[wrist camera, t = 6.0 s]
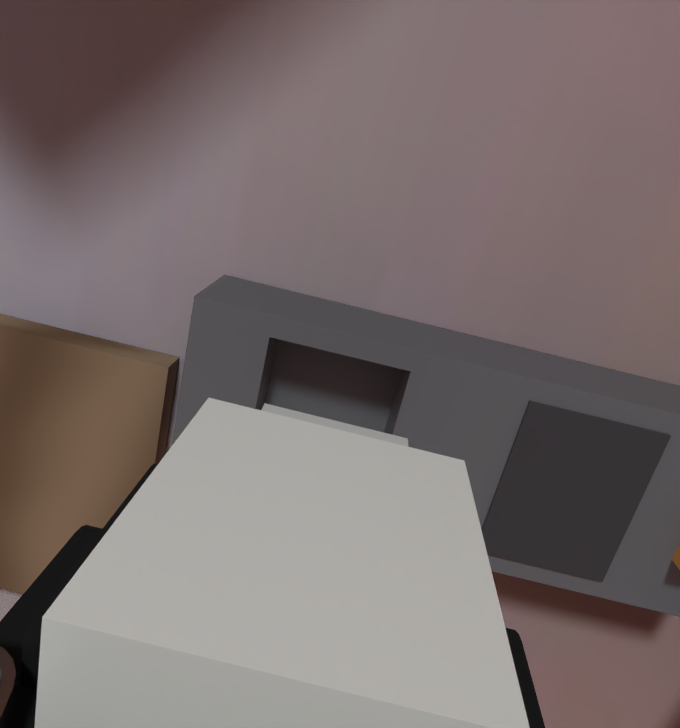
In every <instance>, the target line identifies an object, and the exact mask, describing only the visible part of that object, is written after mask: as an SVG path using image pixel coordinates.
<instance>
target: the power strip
mask: <svg viewBox="0 0 680 728" xmlns="http://www.w3.org/2000/svg"><path fill="white" fill-rule="evenodd" d="M208 398H213V399H217V400H221V401H225V402H229V403H233V404H237V405H241V406H245V407H249V408H253V409H257V410H262V408H263V406H264V404H265V403H266V404H270V405H274V406H278V407H282V408H286V409H290V410H294V411H298V412H302V413H306V414H310V415H314V416H319V417H323V418H327V419H331V420H335V421H339V422H343V423H347V424H351V425H355V426H359V427H363V428H367V429H371V430H375V431H379V432H383V433H388V434H392V435H396V436H400V437H404V438H408V447H411V448H416V449H420V450H424V451H428V452H432V453H436V454H440V455H444V456H448V457H452V458H456V459H460V460H464V461H465V465H466V469H467V473H468V477H469V481H470V485H471V489H472V493H473V497H474V501H475V506H476V510H477V514H478V518H479V522H480V526H481V530H482V534H483V538H484V542H485V547H486V551H487V555H488V559H489V563H490V567H491V571H492V572H496V573H500V574H505V575H509V576H513V577H517V578H521V579H525V580H530V581H534V582H538V583H542V584H546V585H550V586H554V587H559V588H563V589H567V590H571V591H575V592H579V593H583V594H588V595H592V596H596V597H600V598H604V599H608V600H613V601H617V602H621V603H625V604H629V605H633V606H637V607H642V608H646V609H650V610H654V611H658V612H662V613H666V614H671V615H675V616H679V617H680V386H677V385H673V384H669V383H665V382H660V381H656V380H652V379H648V378H644V377H640V376H636V375H632V374H628V373H624V372H620V371H615V370H611V369H607V368H603V367H599V366H595V365H591V364H587V363H583V362H579V361H575V360H570V359H566V358H562V357H558V356H554V355H550V354H546V353H542V352H538V351H534V350H530V349H525V348H521V347H517V346H513V345H509V344H505V343H501V342H497V341H493V340H489V339H485V338H480V337H476V336H472V335H468V334H464V333H460V332H456V331H452V330H448V329H444V328H440V327H435V326H431V325H427V324H423V323H419V322H415V321H411V320H407V319H403V318H399V317H395V316H390V315H386V314H382V313H378V312H374V311H370V310H366V309H362V308H358V307H354V306H350V305H345V304H341V303H337V302H333V301H329V300H325V299H321V298H317V297H313V296H309V295H305V294H300V293H296V292H292V291H288V290H284V289H280V288H276V287H272V286H268V285H264V284H260V283H255V282H251V281H247V280H243V279H239V278H235V277H231V276H227V275H224V276H222V277H221V278H219V279H218V280H216V281H215V282H214V283H212V284H211V285H209V286H208V287H207V288H205V289H204V290H202V291H201V292H200V293H198V294H197V295H195V297H194V303H193V310H192V317H191V323H190V330H189V336H188V343H187V350H186V356H185V363H184V369H183V376H182V383H181V389H180V396H179V403H178V409H177V416H176V422H175V429H174V436H173V442H172V445H173V444H174V443H175V441H176V440H177V439H178V437H179V436H180V435H181V433H182V432H183V431H184V429H185V428H186V427H187V425H188V424H189V423H190V422H191V420H192V419H193V418H194V416H195V415H196V414H197V412H198V411H199V410H200V408H201V407H202V406H203V404H204V403H205V402H206V400H207V399H208Z"/></svg>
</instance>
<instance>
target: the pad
mask: <svg viewBox="0 0 680 728" xmlns="http://www.w3.org/2000/svg"><path fill="white" fill-rule="evenodd" d="M178 362H179V357H175V356H171V355H167V354H163V353H159V352H155V351H151V350H146V349H142V348H138V347H134V346H130V345H126V344H122V343H118V342H113V341H109V340H105V339H101V338H97V337H93V336H89V335H85V334H81V333H76V332H72V331H68V330H64V329H60V328H56V327H52V326H48V325H44V324H39V323H35V322H31V321H27V320H23V319H19V318H15V317H11V316H7V315H2V314H0V588H1V589H6V590H10V591H14V592H18V593H22V594H24V593H25V592H26V590H27V589H28V588H29V587H30V586H31V584H32V583H33V582H34V581H35V580H36V579H37V577H38V576H39V575H40V574H41V573H42V571H43V570H44V569H45V568H46V567H47V565H48V564H49V563H50V562H51V561H52V559H53V558H54V557H55V556H56V555H57V554H58V552H59V551H60V550H61V549H62V548H63V546H64V545H65V544H66V543H67V542H68V540H69V539H70V538H71V537H72V536H73V534H74V533H75V532H76V531H77V530H78V529H79V528H80V527H81V526H84V525H90V526H94V527H98V528H102V529H103V527H104V526H105V525H106V523H107V522H108V521H109V520H110V518H111V517H112V516H113V514H114V513H115V512H116V511H117V509H118V508H119V507H120V505H121V504H122V503H123V501H124V500H125V499H126V498H127V496H128V495H129V494H130V492H131V491H132V490H133V489H134V487H135V486H136V485H137V483H138V482H139V481H140V480H141V478H142V477H143V476H144V474H145V473H146V472H147V471H148V469H149V468H150V467H151V466H152V465H153V464H154V463H156V464H159V462H160V461H161V460H162V458H163V457H164V456H165V450H166V444H167V437H168V430H169V423H170V416H171V410H172V403H173V396H174V389H175V383H176V376H177V369H178Z"/></svg>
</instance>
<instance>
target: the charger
mask: <svg viewBox="0 0 680 728" xmlns="http://www.w3.org/2000/svg"><path fill="white" fill-rule="evenodd" d="M34 728H530V727H529V723H528V719H527V715H526V711H525V707H524V702H523V698H522V694H521V690H520V686H519V682H518V678H517V674H516V670H515V666H514V661H513V657H512V653H511V649H510V645H509V641H508V637H507V633H506V629H505V625H504V620H503V616H502V612H501V608H500V604H499V600H498V596H497V592H496V588H495V584H494V579H493V575H492V571H491V567H490V563H489V559H488V555H487V551H486V547H485V542H484V538H483V534H482V530H481V526H480V522H479V518H478V514H477V510H476V506H475V501H474V497H473V493H472V489H471V485H470V481H469V477H468V473H467V469H466V465H465V461H464V460H460V459H456V458H452V457H448V456H444V455H440V454H436V453H432V452H428V451H424V450H420V449H416V448H411V447H408V438H404V437H400V436H396V435H392V434H388V433H383V432H379V431H375V430H371V429H367V428H363V427H359V426H355V425H351V424H347V423H343V422H339V421H335V420H331V419H327V418H323V417H319V416H314V415H310V414H306V413H302V412H298V411H294V410H290V409H286V408H282V407H278V406H274V405H270V404H266V403H265V404H264V406H263V408H262V410H257V409H253V408H249V407H245V406H241V405H237V404H233V403H229V402H225V401H221V400H217V399H213V398H208V399H207V400H206V402H205V403H204V404H203V406H202V407H201V408H200V410H199V411H198V412H197V414H196V415H195V416H194V418H193V419H192V420H191V422H190V423H189V424H188V425H187V427H186V428H185V429H184V431H183V432H182V433H181V435H180V436H179V437H178V439H177V440H176V441H175V443H174V444H173V445H172V447H171V448H170V449H169V451H168V452H167V453H166V455H165V456H164V457H163V458H162V460H161V461H160V462H159V464H158V465H157V466H156V468H155V469H154V470H153V472H152V473H151V474H150V476H149V477H148V478H147V480H146V481H145V482H144V484H143V485H142V486H141V487H140V489H139V490H138V491H137V493H136V494H135V495H134V497H133V498H132V499H131V501H130V502H129V503H128V505H127V506H126V507H125V509H124V510H123V511H122V513H121V514H120V515H119V517H118V518H117V519H116V520H115V522H114V523H113V524H112V526H111V527H110V528H109V530H108V531H107V532H106V534H105V535H104V536H103V538H102V539H101V540H100V542H99V543H98V544H97V546H96V547H95V548H94V549H93V551H92V552H91V553H90V555H89V556H88V557H87V559H86V560H85V561H84V563H83V564H82V565H81V567H80V568H79V569H78V571H77V572H76V573H75V575H74V576H73V577H72V579H71V580H70V581H69V582H68V584H67V585H66V586H65V588H64V589H63V590H62V592H61V593H60V594H59V596H58V597H57V598H56V600H55V601H54V602H53V604H52V605H51V606H50V608H49V609H48V610H47V612H46V613H45V614H44V615H43V617H42V626H41V641H40V655H39V669H38V684H37V698H36V712H35V726H34Z"/></svg>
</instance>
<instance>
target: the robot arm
mask: <svg viewBox="0 0 680 728" xmlns="http://www.w3.org/2000/svg"><path fill="white" fill-rule="evenodd" d="M157 465H158V464H156V463H154V464H153V465H152V466H151V467H150V468H149V469H148V471H147V472H146V473H145V474H144V476H143V477H142V478H141V480H140V481H139V482H138V483H137V485H136V486H135V487H134V489H133V490H132V491H131V492H130V494H129V495H128V496H127V498H126V499H125V500H124V501H123V503H122V504H121V505H120V507H119V508H118V509H117V511H116V512H115V513H114V514H113V516H112V517H111V518H110V520H109V521H108V522H107V523H106V525H105V526H104V527H103V529H102V528H98V527H94V526H90V525H84V526H81V527H80V528H79V529H78V530H77V531H76V532H75V533H74V534H73V536H72V537H71V538H70V539H69V540H68V542H67V543H66V544H65V545H64V546H63V548H62V549H61V550H60V551H59V552H58V554H57V555H56V556H55V557H54V558H53V559H52V561H51V562H50V563H49V564H48V565H47V567H46V568H45V569H44V570H43V571H42V573H41V574H40V575H39V576H38V577H37V579H36V580H35V581H34V582H33V583H32V584H31V586H30V587H29V588H28V589H27V590H26V592H25V593H24V594H23V595H22V596H21V598H20V599H19V600H18V601H17V602H16V603H15V605H14V606H13V607H12V608H11V609H10V611H9V612H8V613H7V614H6V615H5V617H4V618H3V619H2V620H1V621H0V728H34V726H35V712H36V698H37V684H38V669H39V655H40V641H41V626H42V617H43V615H44V614H45V613H46V612H47V610H48V609H49V608H50V606H51V605H52V604H53V602H54V601H55V600H56V598H57V597H58V596H59V594H60V593H61V592H62V590H63V589H64V588H65V586H66V585H67V584H68V582H69V581H70V580H71V579H72V577H73V576H74V575H75V573H76V572H77V571H78V569H79V568H80V567H81V565H82V564H83V563H84V561H85V560H86V559H87V557H88V556H89V555H90V553H91V552H92V551H93V549H94V548H95V547H96V546H97V544H98V543H99V542H100V540H101V539H102V538H103V536H104V535H105V534H106V532H107V531H108V530H109V528H110V527H111V526H112V524H113V523H114V522H115V520H116V519H117V518H118V517H119V515H120V514H121V513H122V511H123V510H124V509H125V507H126V506H127V505H128V503H129V502H130V501H131V499H132V498H133V497H134V495H135V494H136V493H137V491H138V490H139V489H140V487H141V486H142V485H143V484H144V482H145V481H146V480H147V478H148V477H149V476H150V474H151V473H152V472H153V470H154V469H155V468H156V466H157ZM505 629H506V633H507V637H508V641H509V645H510V649H511V653H512V657H513V661H514V666H515V670H516V674H517V678H518V682H519V686H520V690H521V694H522V698H523V702H524V707H525V711H526V715H527V719H528V723H529V727H530V728H545V726H544V722H543V718H542V715H541V711H540V707H539V703H538V700H537V696H536V692H535V689H534V685H533V681H532V678H531V674H530V670H529V667H528V663H527V659H526V655H525V652H524V648H523V644H522V641H521V639H520V636H519V634H518V633H517V632H516V631H515V630H512V629H508V628H505Z"/></svg>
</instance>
